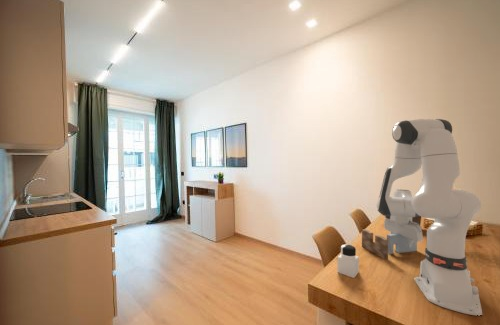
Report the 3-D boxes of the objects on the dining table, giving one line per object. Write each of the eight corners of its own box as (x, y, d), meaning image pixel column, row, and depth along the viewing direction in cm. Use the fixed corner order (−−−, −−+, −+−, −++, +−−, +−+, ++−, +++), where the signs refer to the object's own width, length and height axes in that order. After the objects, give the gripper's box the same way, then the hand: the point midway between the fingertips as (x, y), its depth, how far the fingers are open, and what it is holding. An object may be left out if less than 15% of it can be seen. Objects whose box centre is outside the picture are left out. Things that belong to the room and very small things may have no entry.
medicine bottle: (359, 272, 95) (359, 245, 95) (354, 278, 90) (354, 250, 90) (342, 266, 100) (342, 241, 100) (337, 272, 95) (337, 246, 94)
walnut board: (387, 258, 107) (388, 239, 107) (384, 259, 107) (384, 239, 107) (364, 246, 123) (364, 229, 123) (361, 246, 123) (361, 229, 123)
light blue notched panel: (389, 254, 113) (390, 235, 113) (386, 252, 115) (386, 234, 115) (416, 250, 116) (417, 233, 116) (413, 249, 118) (413, 231, 118)
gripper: (426, 223, 106) (425, 250, 106) (391, 213, 126) (391, 236, 126) (416, 224, 104) (415, 252, 105) (382, 214, 124) (382, 237, 125)
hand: (402, 243), depth 115 cm, fingers open, 7 cm apart
